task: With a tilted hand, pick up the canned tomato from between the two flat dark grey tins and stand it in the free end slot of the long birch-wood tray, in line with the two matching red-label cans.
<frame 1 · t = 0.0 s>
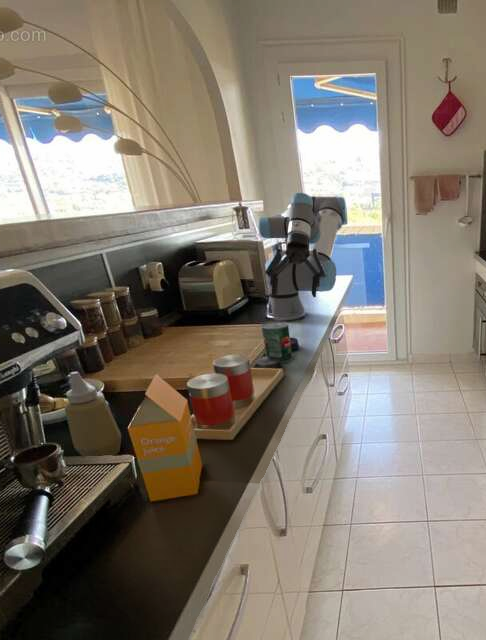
hand: (293, 295, 150), 15 cm above the counter, tool tilted 35°, fingers open, 13 cm apart
orange juice: (178, 484, 82), on the counter
label can b: (217, 425, 100), resting on tray
pill bottle: (103, 430, 99), on the counter
label can a: (238, 402, 111), resting on tray
grey tin a: (288, 349, 147), on the counter
canned tomato: (279, 359, 139), on the counter
grey tin b: (269, 369, 131), on the counter
squeeze bottle: (103, 456, 90), on the counter
tray: (238, 403, 111), on the counter
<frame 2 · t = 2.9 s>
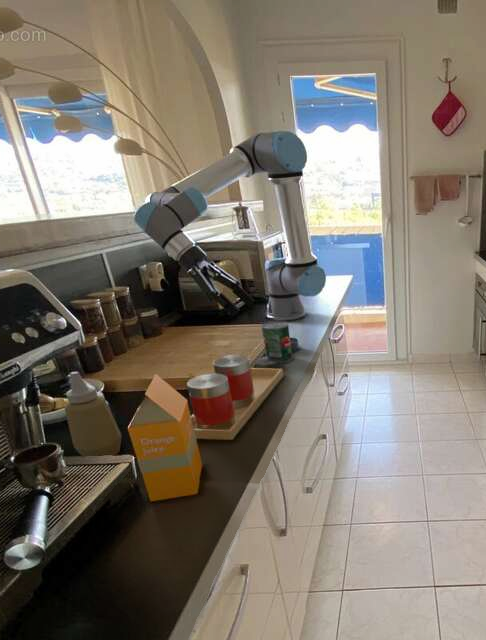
hand: (244, 308, 134), 16 cm above the counter, tool tilted 40°, fingers open, 13 cm apart
nothing on the counter moved.
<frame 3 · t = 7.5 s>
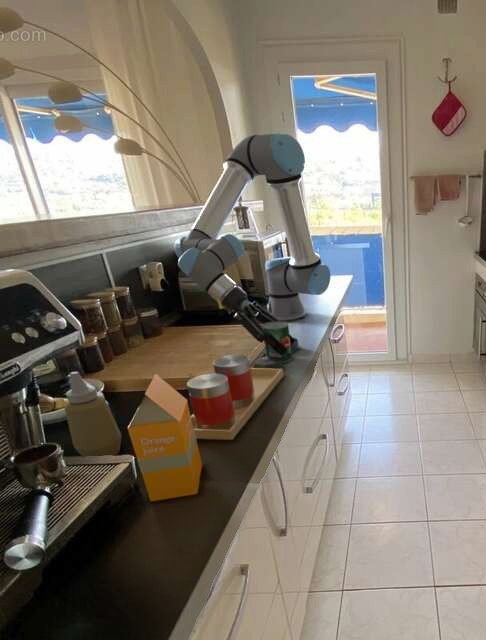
hand: (288, 347, 137), 4 cm above the counter, tool tilted 45°, fingers closed on canned tomato, 8 cm apart
canned tomato: (279, 359, 139), on the counter, touching gripper
everything else where it was.
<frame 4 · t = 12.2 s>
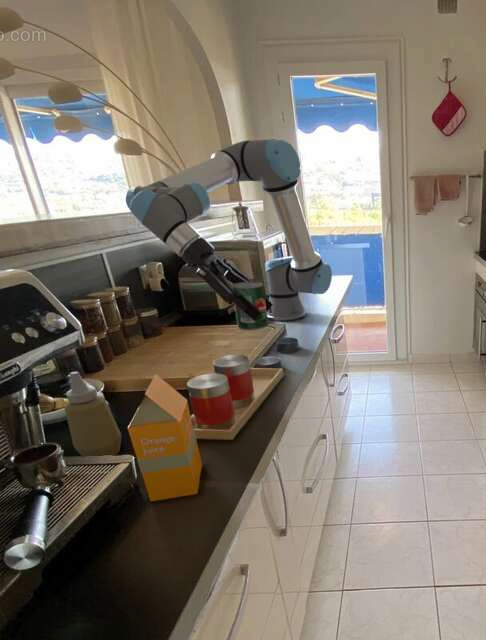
hand: (263, 312, 117), 19 cm above the counter, tool tilted 45°, fingers closed on canned tomato, 8 cm apart
canned tomato: (253, 327, 119), point 15 cm above the counter, touching gripper
everything else where it was.
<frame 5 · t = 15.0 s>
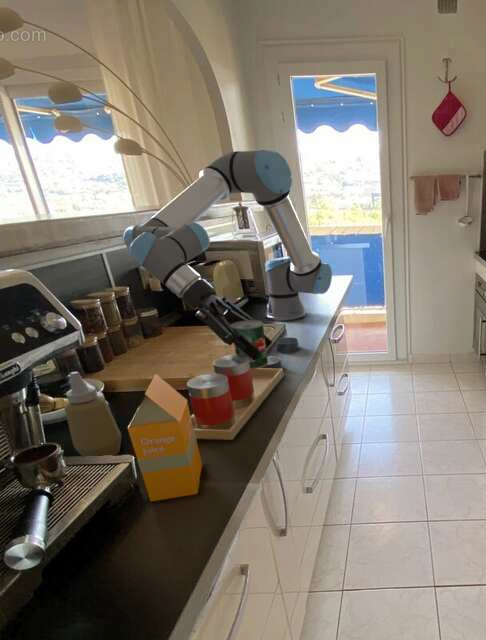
hand: (263, 351, 117), 10 cm above the counter, tool tilted 45°, fingers closed on canned tomato, 8 cm apart
canned tomato: (253, 364, 119), point 6 cm above the counter, touching gripper
everything else where it was.
when the fingers open (4 cm above the counter, at t = 16.9 s): canned tomato stays where it is, resting on tray.
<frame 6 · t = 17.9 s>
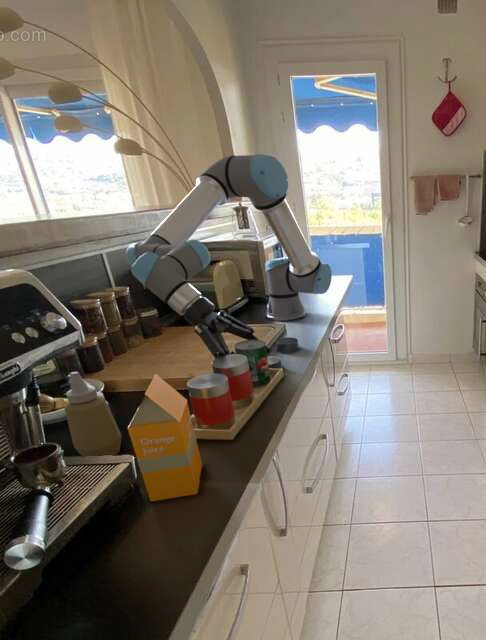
hand: (259, 362, 119), 6 cm above the counter, tool tilted 45°, fingers open, 13 cm apart
canned tomato: (256, 383, 121), resting on tray
everything else where it was.
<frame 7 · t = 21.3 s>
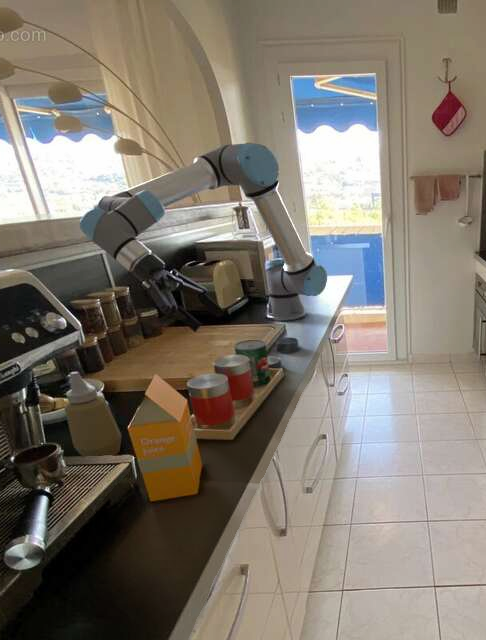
hand: (210, 320, 121), 16 cm above the counter, tool tilted 45°, fingers open, 13 cm apart
nothing on the counter moved.
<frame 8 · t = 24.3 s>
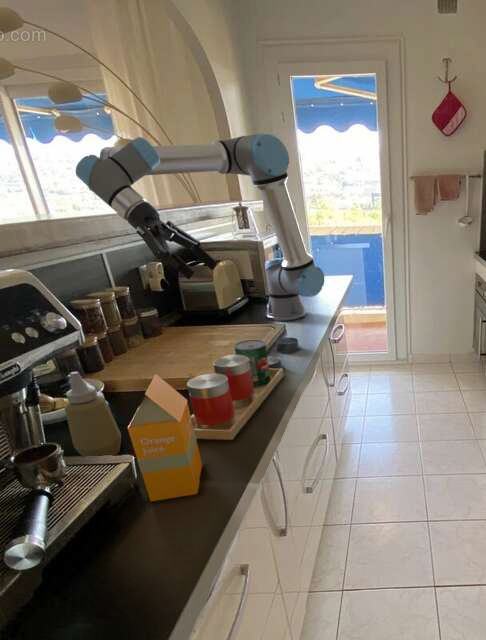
hand: (204, 271, 122), 28 cm above the counter, tool tilted 45°, fingers open, 13 cm apart
nothing on the counter moved.
at the end: canned tomato 0.1 cm from the target spot in the tray, point 0.3 cm above the tray's base; canned tomato 12.0 cm from the label can a (horizontally); canned tomato tilted 0° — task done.
